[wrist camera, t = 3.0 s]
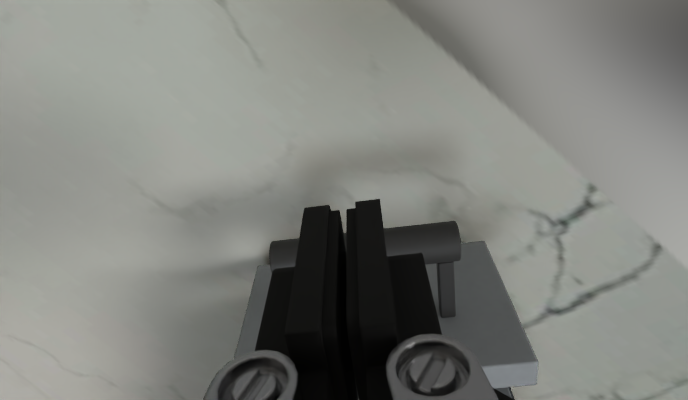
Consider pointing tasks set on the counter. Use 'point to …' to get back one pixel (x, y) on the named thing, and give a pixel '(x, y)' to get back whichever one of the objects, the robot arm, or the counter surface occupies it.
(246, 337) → the drawer
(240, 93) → the counter surface
